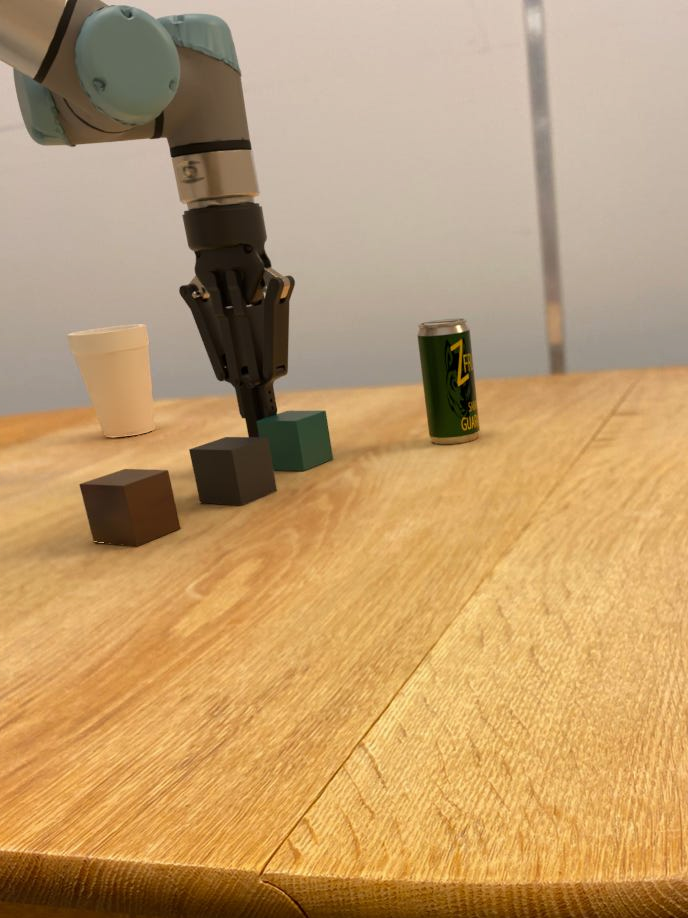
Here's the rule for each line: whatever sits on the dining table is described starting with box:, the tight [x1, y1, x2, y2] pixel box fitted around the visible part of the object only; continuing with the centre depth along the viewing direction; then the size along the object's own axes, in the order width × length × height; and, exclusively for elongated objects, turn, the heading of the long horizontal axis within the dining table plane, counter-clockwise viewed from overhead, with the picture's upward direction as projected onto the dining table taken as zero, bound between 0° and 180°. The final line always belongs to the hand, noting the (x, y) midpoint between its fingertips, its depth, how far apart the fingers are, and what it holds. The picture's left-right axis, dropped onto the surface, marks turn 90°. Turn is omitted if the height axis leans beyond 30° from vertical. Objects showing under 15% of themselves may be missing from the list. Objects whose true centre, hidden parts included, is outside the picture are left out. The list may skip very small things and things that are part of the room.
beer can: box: [416, 318, 481, 445], centre depth 110 cm, size 5×5×12 cm
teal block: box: [257, 410, 334, 472], centre depth 107 cm, size 5×5×5 cm
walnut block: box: [78, 468, 181, 547], centre depth 87 cm, size 5×5×5 cm
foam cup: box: [66, 323, 156, 436], centre depth 135 cm, size 10×9×13 cm
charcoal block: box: [188, 436, 278, 506], centre depth 97 cm, size 5×5×5 cm
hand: (265, 449), depth 110 cm, fingers closed
